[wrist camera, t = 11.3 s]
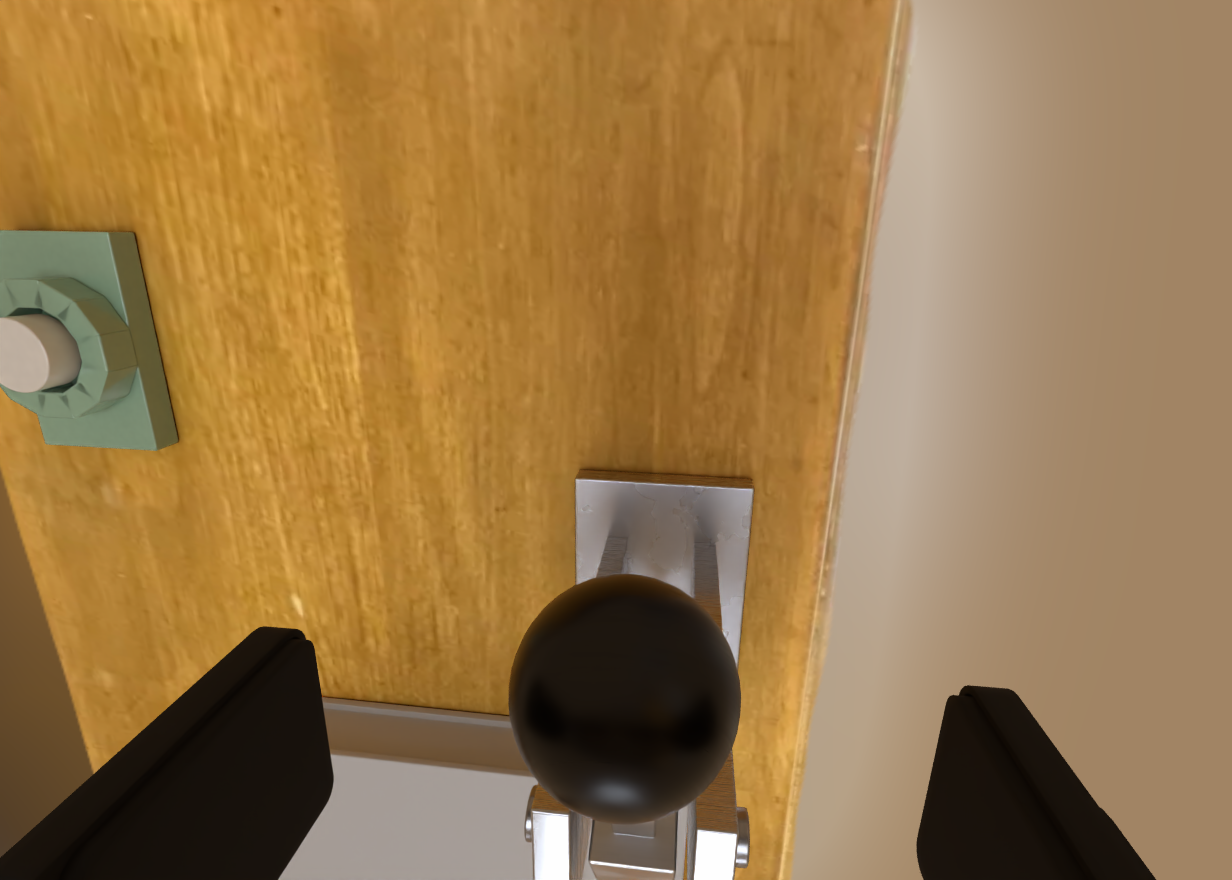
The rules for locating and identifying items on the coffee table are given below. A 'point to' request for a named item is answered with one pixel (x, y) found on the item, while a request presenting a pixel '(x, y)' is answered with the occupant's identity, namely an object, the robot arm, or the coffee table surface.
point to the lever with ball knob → (625, 714)
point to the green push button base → (91, 337)
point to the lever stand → (708, 572)
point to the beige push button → (36, 353)
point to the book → (424, 799)
